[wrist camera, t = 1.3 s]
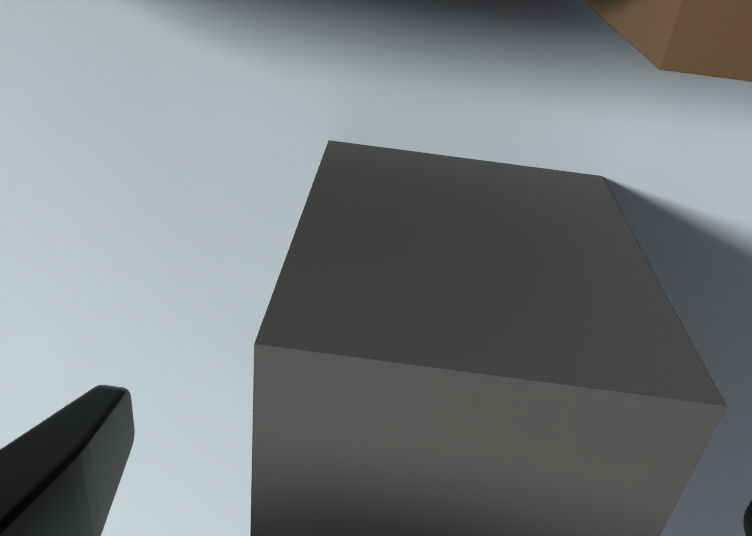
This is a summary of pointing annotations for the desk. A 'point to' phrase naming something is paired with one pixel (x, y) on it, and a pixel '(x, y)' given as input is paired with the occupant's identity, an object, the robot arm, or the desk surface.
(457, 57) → the desk surface
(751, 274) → the desk surface
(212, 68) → the desk surface
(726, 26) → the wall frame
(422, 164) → the block
